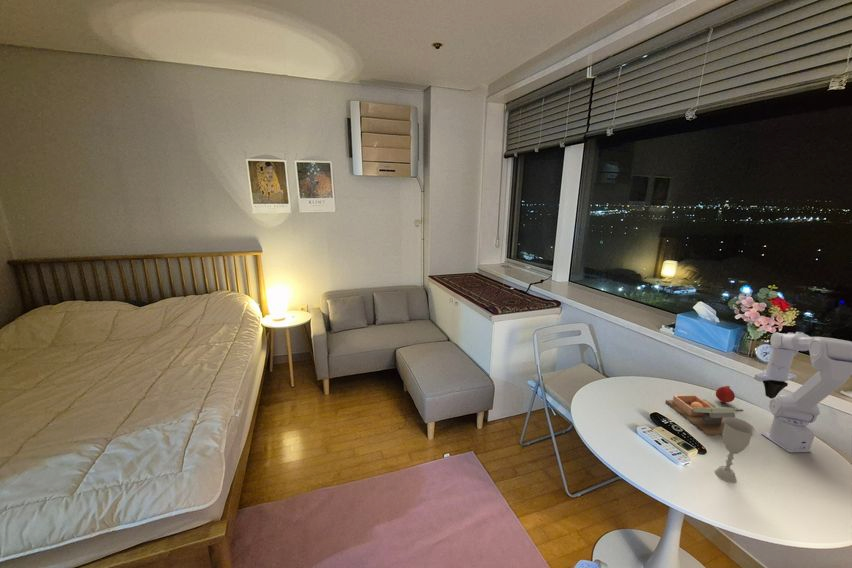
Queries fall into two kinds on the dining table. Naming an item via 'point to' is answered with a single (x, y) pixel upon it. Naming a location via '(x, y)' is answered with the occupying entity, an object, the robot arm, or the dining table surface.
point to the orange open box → (683, 399)
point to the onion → (725, 394)
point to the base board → (698, 419)
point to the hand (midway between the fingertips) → (769, 397)
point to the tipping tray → (718, 411)
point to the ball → (696, 405)
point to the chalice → (734, 444)
